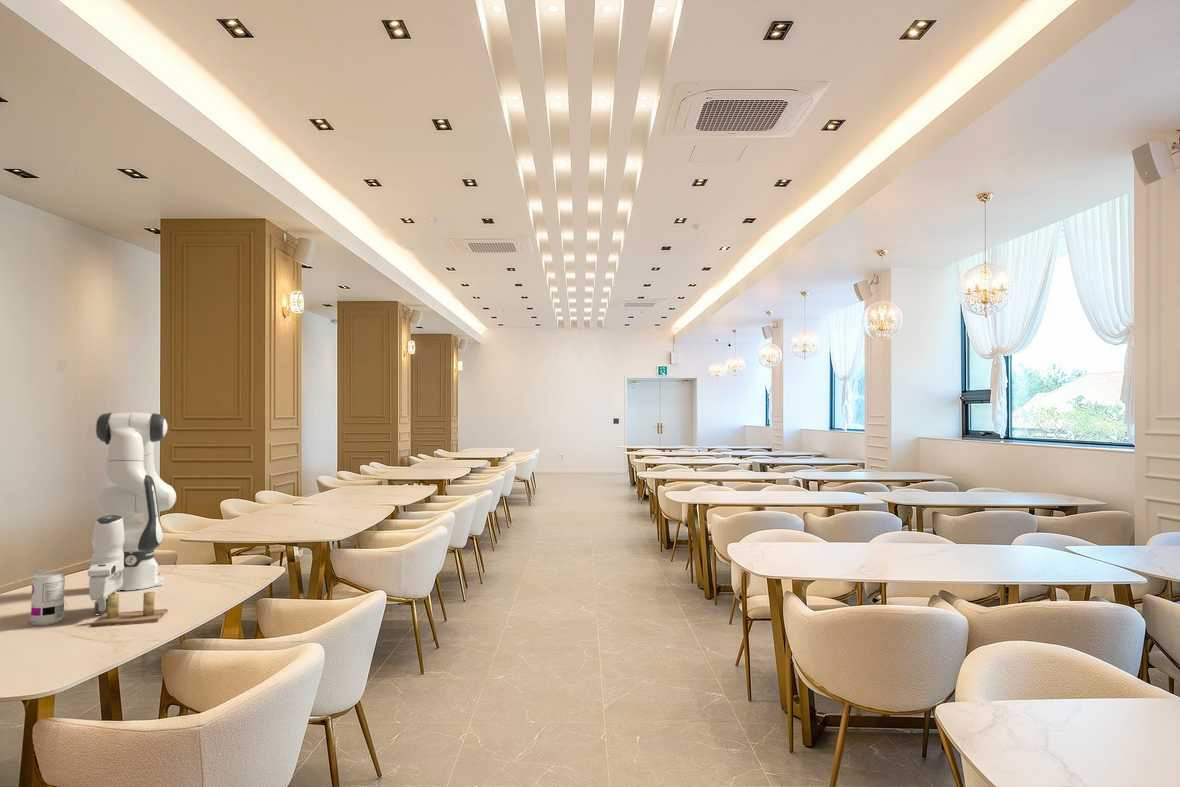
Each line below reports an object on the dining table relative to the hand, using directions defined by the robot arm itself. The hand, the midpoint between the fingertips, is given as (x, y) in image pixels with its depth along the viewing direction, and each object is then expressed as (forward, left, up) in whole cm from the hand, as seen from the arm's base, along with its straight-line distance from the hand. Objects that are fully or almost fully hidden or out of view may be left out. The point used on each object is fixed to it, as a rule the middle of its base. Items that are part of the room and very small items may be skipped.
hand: (106, 607), depth 233 cm
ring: (0, 0, -2) cm, 2 cm away
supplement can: (+7, -14, -2) cm, 16 cm away
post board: (+11, +10, -2) cm, 15 cm away
